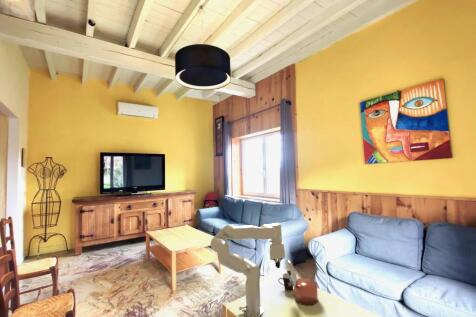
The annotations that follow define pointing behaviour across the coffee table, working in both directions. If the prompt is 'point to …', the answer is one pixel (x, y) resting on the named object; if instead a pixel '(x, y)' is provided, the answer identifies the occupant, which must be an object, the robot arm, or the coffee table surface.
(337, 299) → the coffee table surface
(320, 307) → the coffee table surface
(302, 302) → the red-brown rounded block
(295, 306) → the coffee table surface
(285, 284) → the coffee mug
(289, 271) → the cooker lid
